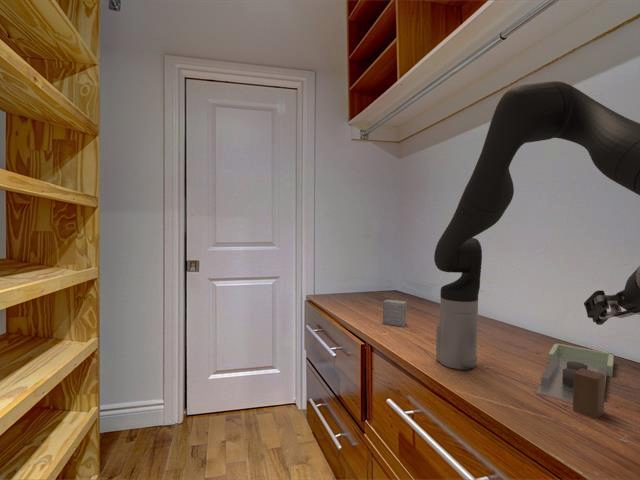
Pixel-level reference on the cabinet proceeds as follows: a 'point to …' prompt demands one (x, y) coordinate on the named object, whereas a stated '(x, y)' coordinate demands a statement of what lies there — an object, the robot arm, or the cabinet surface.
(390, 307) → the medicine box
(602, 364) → the slot board
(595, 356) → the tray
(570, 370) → the puck
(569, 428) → the cabinet surface
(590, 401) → the wooden block
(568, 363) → the puck
